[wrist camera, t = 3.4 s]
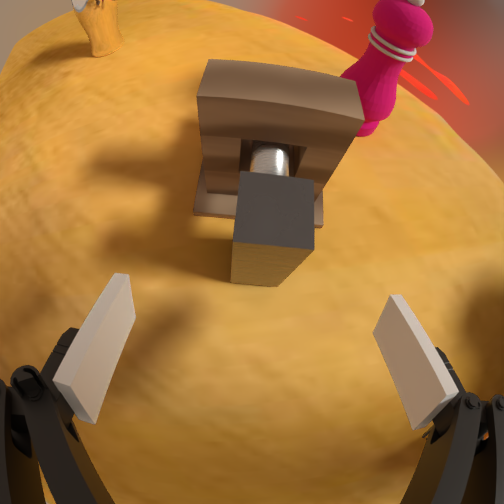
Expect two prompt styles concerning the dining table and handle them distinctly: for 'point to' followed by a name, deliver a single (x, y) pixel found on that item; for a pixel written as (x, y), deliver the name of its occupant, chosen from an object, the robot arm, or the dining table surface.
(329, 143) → the wooden arch frame
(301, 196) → the metal rod with plate
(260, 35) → the dining table surface
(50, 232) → the dining table surface
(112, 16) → the beer glass
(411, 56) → the pepper mill
